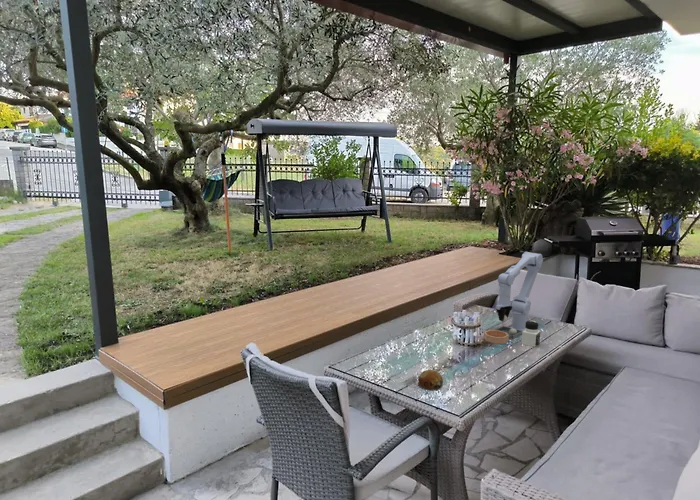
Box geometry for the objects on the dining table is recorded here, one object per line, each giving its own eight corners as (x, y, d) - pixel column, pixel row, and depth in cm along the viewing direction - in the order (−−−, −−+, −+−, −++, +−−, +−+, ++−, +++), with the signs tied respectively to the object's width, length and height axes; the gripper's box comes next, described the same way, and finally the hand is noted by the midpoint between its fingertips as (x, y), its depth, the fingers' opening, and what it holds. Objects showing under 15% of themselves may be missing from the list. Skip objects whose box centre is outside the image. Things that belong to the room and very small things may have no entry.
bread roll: (440, 389, 201) (439, 369, 203) (446, 389, 191) (444, 369, 193) (417, 389, 201) (416, 370, 203) (421, 389, 191) (420, 369, 193)
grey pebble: (511, 333, 259) (511, 326, 258) (518, 335, 256) (518, 328, 255) (507, 335, 256) (508, 328, 255) (514, 337, 253) (514, 330, 252)
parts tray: (503, 329, 267) (503, 325, 266) (523, 334, 258) (523, 331, 258) (491, 334, 258) (492, 330, 258) (512, 340, 250) (512, 336, 249)
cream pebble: (501, 320, 262) (502, 313, 261) (508, 321, 259) (508, 314, 259) (497, 321, 259) (498, 314, 259) (504, 323, 256) (505, 315, 256)
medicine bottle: (535, 347, 239) (537, 324, 237) (521, 344, 243) (522, 322, 242) (539, 343, 245) (541, 321, 243) (525, 340, 249) (527, 318, 247)
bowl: (491, 335, 258) (491, 328, 257) (511, 340, 249) (512, 333, 249) (480, 340, 250) (480, 333, 249) (500, 345, 241) (500, 339, 241)
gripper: (504, 291, 265) (503, 315, 267) (491, 296, 255) (489, 320, 257) (516, 294, 260) (515, 318, 262) (503, 299, 250) (501, 323, 252)
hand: (503, 319), depth 259 cm, fingers closed on cream pebble, 4 cm apart
